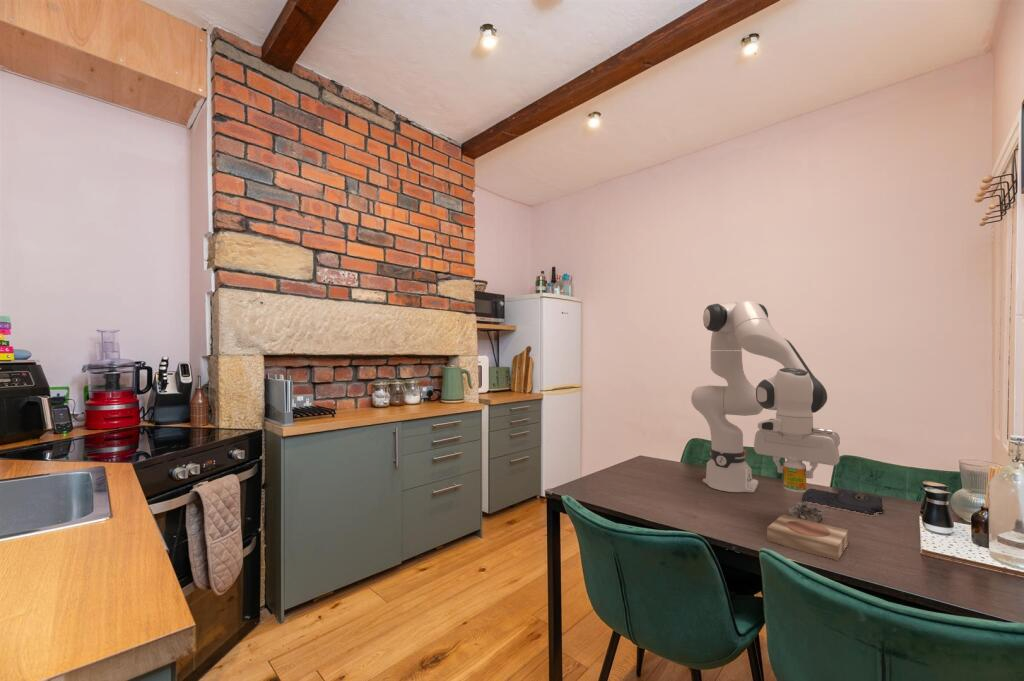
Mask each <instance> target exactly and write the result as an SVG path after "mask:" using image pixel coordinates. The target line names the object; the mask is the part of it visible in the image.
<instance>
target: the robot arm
mask: <svg viewBox="0 0 1024 681" xmlns="http://www.w3.org/2000/svg"><path fill="white" fill-rule="evenodd" d="M702 320H703V321H702V322H703V325H704V327H705V328H706V330H707V331H710V332H711V340H710V370H711V371H712V373H713V374H715V375H717V376H718V377H720V378H722V379H724V380H725V381H726V383H727V385H710V384H708V385H702V386H697V387H695V389H693V391H692V394H691V397H690V398H691V400H690V401H691V404H692V406H693V408H694V409H695V410H696V411H697V412H699V414H701V415H702V417H703V418H704V419H705V421H706V422H707V424H708V426H709V431H710V440H711V448H710V449H709V450H710V451H709V456H710V457H709V458H710V459H709V460H708V461H707V462H706V471H705V473H706V475H705V478H702V482H703V483H704V484H706V485H707V486H708V487H710V488H711V489H714V490H717V491H718V490H719V491H722V492H727V493H728V492H729V493H755V492H756V489H757V487H758V485H759V480H757V479H755V478H753V476H752V475H753V474H752V472H753V471H752V468H751V467H750V465H749V464H748V463H747V462H746V456H747V450H745V449H744V434H743V431H742V430H741V428H740V427H738V426H737V425H736V424H734V423H732V422H730V421H729V420H728V419H727V416H726V415H728V416H731V415H732V416H741V417H742V416H743V417H747V416H757V415H759V414H761V413H762V411H763V410H764V409H765V410H769V411H776V413H775V418H770V419H766V420H762V421H759V422H758V423H757V429H759V430H757V431H756V433H755V436H754V439H753V440H754V442H753V450H754V452H755V453H756V454H757V455H761V456H762V455H764V456H768V457H772V461H773V463H774V464H775V466H776V467H777V473H778V474H783V475H784V472H783V465H782V463H781V462H780V461H781V458H782V459H786V458H788V457H789V455H791V456H796V458H797V460H800V461H802V462H807V463H809V466H810V467H811V468H810V469H808V470H807V469H806V471H805V474H806V475H805V477H806V479H811V480H812V479H813V478H814V471H815V470H816V469H817V467H818V466H819V464H820V465H827V466H836V465H838V464H839V463H840V460H841V459H840V452H839V446H840V442H841V439H840V438H841V437H840V435H839V434H838V433H837V432H836V431H833V430H832V429H823V428H819V427H818V428H817V427H814V413H816V412H818V411H820V410H822V408H824V406H825V405H826V403H827V400H828V393H827V389H826V388H825V385H823V384H822V382H820V380H818V378H817V377H815V375H814V374H813V373H812V371H811V370H810V368H809V366H808V365H807V364H806V362H805V361H804V359H803V358H802V356H801V355H800V353H799V352H798V351H797V349H796V348H795V346H794V345H793V344H792V343H791V341H790V340H789V339H786V338H785V337H783V336H782V335H780V334H779V333H778V332H777V331H776V330H775V328H774V327H773V326H772V324H771V322H770V320H769V312H768V310H767V308H766V307H765V305H763V304H760V303H758V302H756V301H753V300H742V301H740V302H728V303H727V302H726V303H713V304H709V305H707V306H706V308H705V309H704V310H703V315H702ZM744 350H745V352H748V353H749V354H752V355H756V356H761V357H765V358H768V359H771V360H773V361H776V362H778V363H780V365H782V366H783V368H780V369H778V370H777V372H776V374H775V375H773V376H772V377H769V378H766V379H762V380H761V381H760V382H759V383H758V384H757V386H756V387H755V386H754V385H753V384H752V383H751V382H750V381H749V380H748V378H747V377H746V373H745V371H744V365H743V351H744Z"/></svg>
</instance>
